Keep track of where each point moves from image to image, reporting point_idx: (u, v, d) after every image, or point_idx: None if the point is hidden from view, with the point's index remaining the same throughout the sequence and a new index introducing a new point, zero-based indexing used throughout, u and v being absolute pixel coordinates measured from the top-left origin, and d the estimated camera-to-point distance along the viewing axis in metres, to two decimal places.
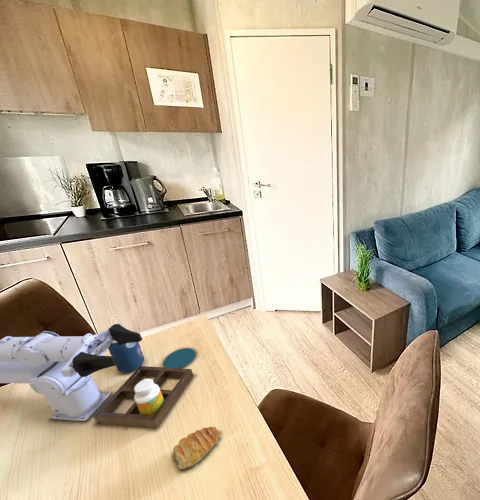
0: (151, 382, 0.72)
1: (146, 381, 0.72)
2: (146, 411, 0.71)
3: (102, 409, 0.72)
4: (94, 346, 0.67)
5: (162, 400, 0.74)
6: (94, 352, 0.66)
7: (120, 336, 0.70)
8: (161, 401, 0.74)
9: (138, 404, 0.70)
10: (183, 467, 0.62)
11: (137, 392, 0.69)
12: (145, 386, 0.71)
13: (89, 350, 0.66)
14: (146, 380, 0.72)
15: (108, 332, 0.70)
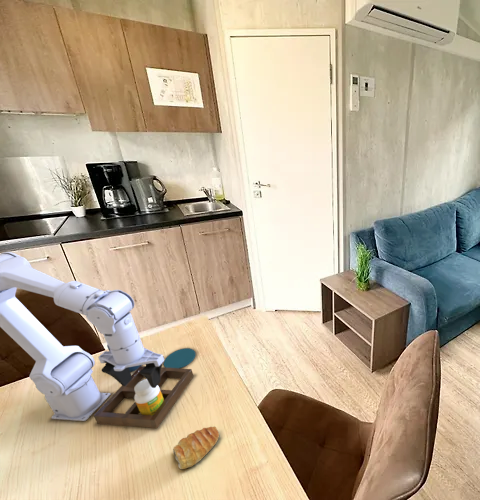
0: None
1: (146, 381, 0.72)
2: (146, 411, 0.71)
3: (102, 409, 0.72)
4: None
5: (162, 400, 0.74)
6: None
7: None
8: (161, 400, 0.74)
9: (138, 404, 0.70)
10: (183, 467, 0.62)
11: (137, 392, 0.69)
12: (145, 386, 0.71)
13: None
14: (146, 380, 0.72)
15: None
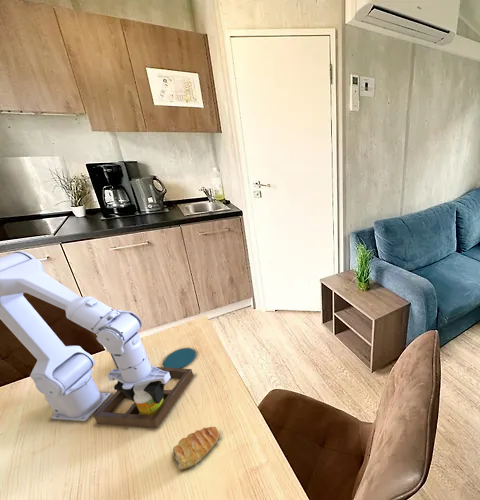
0: None
1: None
2: (146, 411, 0.71)
3: (102, 409, 0.72)
4: None
5: (162, 400, 0.74)
6: None
7: None
8: (161, 400, 0.74)
9: (137, 404, 0.70)
10: (183, 467, 0.62)
11: (136, 392, 0.69)
12: (144, 386, 0.71)
13: None
14: None
15: None
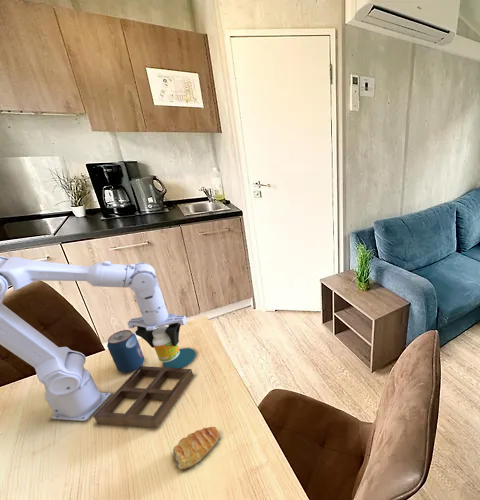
0: (166, 327, 0.82)
1: (162, 327, 0.82)
2: (165, 353, 0.81)
3: (102, 409, 0.72)
4: None
5: None
6: None
7: None
8: (176, 345, 0.84)
9: (157, 347, 0.80)
10: (183, 467, 0.62)
11: (156, 335, 0.79)
12: (162, 331, 0.81)
13: None
14: (161, 327, 0.82)
15: None
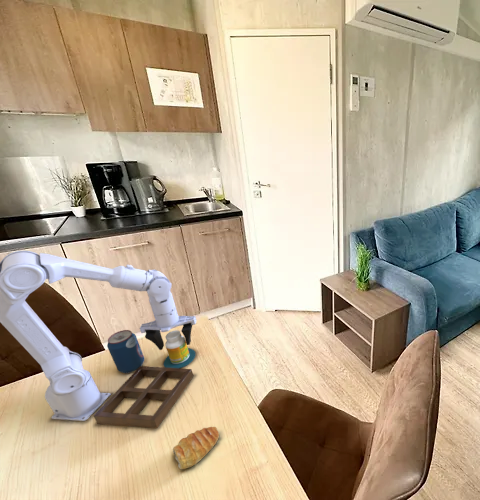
0: (178, 331, 0.89)
1: (173, 332, 0.89)
2: (178, 355, 0.88)
3: (102, 409, 0.72)
4: None
5: None
6: None
7: None
8: (187, 347, 0.91)
9: (171, 349, 0.87)
10: (183, 467, 0.62)
11: (170, 339, 0.86)
12: (175, 334, 0.88)
13: None
14: (172, 331, 0.89)
15: None
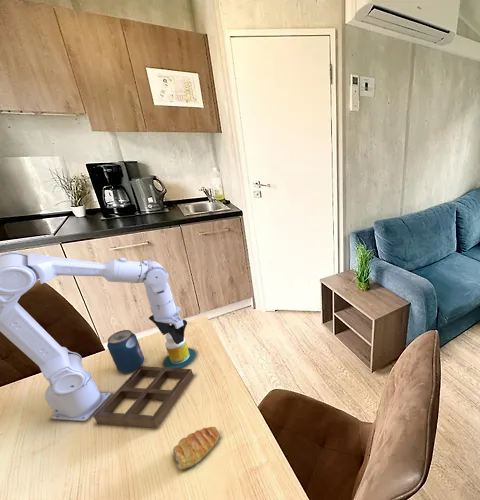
0: None
1: None
2: (178, 355, 0.88)
3: (102, 409, 0.72)
4: None
5: None
6: None
7: None
8: (187, 347, 0.91)
9: (171, 349, 0.87)
10: (183, 467, 0.62)
11: (170, 339, 0.86)
12: None
13: None
14: None
15: None
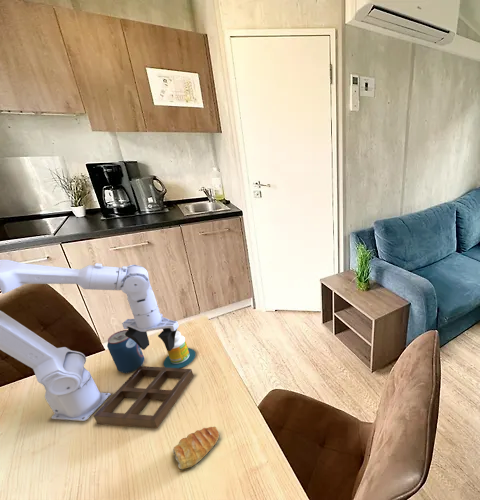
0: (178, 331, 0.89)
1: None
2: (178, 355, 0.88)
3: (102, 409, 0.72)
4: None
5: None
6: None
7: (142, 332, 0.81)
8: (187, 347, 0.91)
9: None
10: (183, 467, 0.61)
11: None
12: (175, 334, 0.88)
13: None
14: None
15: None
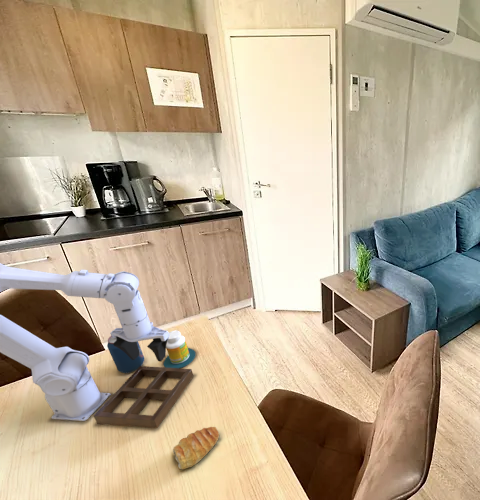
0: (178, 331, 0.89)
1: (173, 332, 0.89)
2: (178, 355, 0.88)
3: (102, 409, 0.72)
4: None
5: None
6: None
7: (131, 342, 0.77)
8: (187, 347, 0.91)
9: (171, 349, 0.87)
10: (183, 467, 0.61)
11: (170, 339, 0.86)
12: (175, 334, 0.88)
13: None
14: (172, 331, 0.89)
15: None
